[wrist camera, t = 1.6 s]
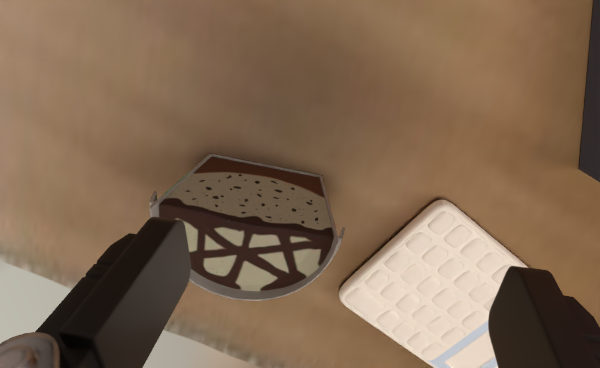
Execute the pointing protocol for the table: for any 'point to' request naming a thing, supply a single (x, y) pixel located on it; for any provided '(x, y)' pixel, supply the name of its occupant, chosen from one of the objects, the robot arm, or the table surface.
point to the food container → (252, 227)
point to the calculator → (434, 288)
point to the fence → (592, 103)
